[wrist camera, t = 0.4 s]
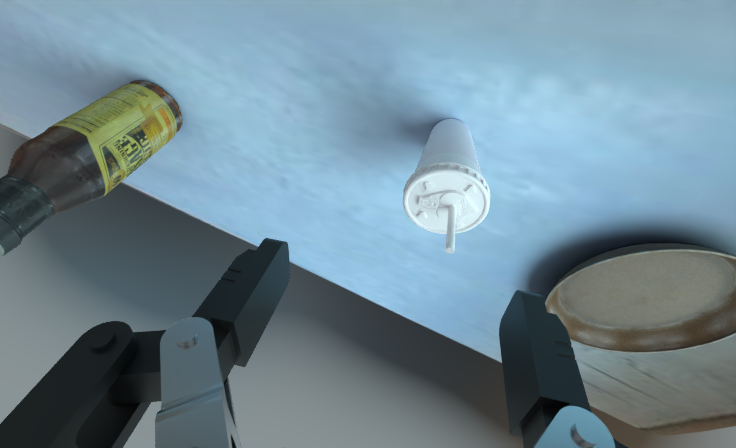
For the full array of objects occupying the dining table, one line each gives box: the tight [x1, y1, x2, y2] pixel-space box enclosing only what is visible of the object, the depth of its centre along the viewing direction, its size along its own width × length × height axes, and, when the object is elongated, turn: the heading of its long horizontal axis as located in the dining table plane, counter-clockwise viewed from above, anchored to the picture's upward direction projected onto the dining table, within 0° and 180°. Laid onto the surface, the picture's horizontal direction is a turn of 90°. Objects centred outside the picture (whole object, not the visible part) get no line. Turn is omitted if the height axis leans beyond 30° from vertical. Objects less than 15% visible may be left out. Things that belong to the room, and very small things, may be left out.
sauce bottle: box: [0, 81, 182, 256], centre depth 30 cm, size 7×6×20 cm
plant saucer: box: [545, 243, 736, 353], centre depth 40 cm, size 21×21×3 cm
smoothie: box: [403, 119, 490, 253], centre depth 28 cm, size 6×6×14 cm
